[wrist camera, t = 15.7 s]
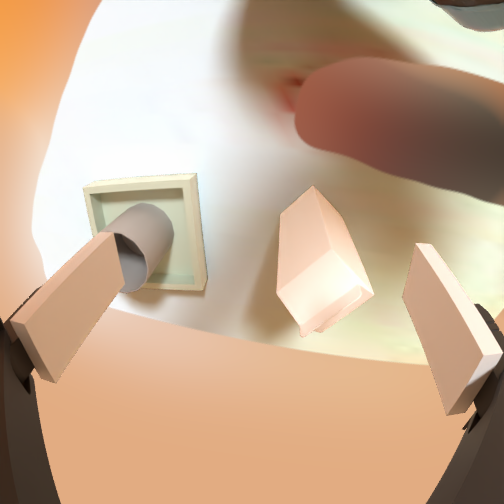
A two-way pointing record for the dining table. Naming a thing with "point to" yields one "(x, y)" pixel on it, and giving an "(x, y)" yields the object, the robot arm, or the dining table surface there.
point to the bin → (176, 208)
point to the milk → (318, 264)
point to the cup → (140, 242)
